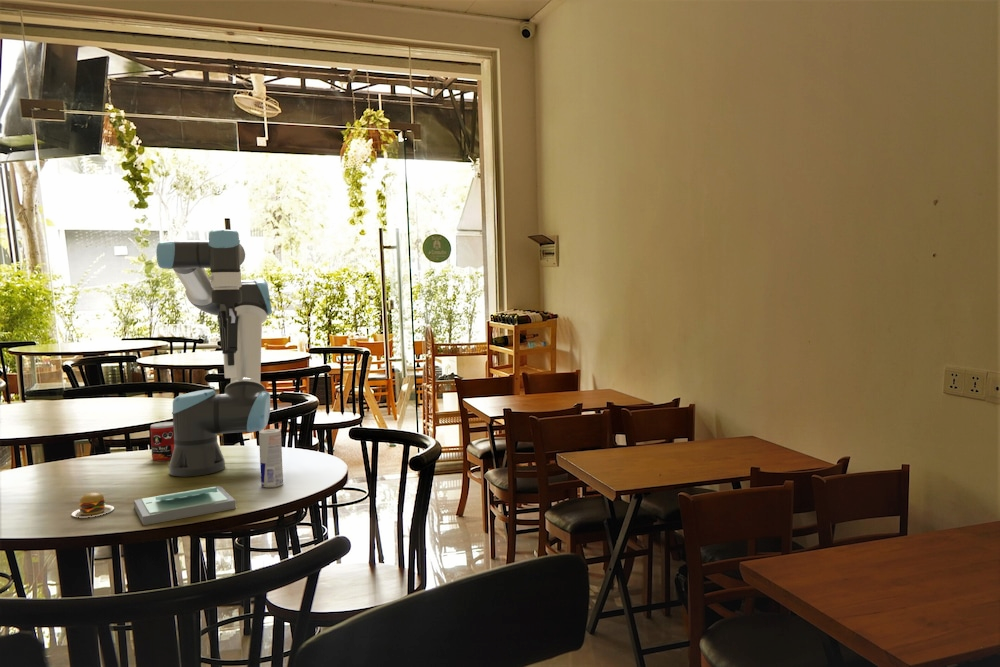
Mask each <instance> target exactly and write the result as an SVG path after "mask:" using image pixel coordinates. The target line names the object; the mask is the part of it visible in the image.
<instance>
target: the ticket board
mask: <svg viewBox="0 0 1000 667" xmlns="http://www.w3.org/2000/svg"><path fill="white" fill-rule="evenodd" d="M207 488H217V491H215V492H209V493H203V494H197V495H191V496H185V497H179V498H174V499H168V500H162V501H160V500H156V498H155V497H158V496H159V495H157V496H156V495H155V496H151V497H143V498H138V499H134V500H133V506H134V510H135V512H136V514H137V516H138V518H139V519H140V522H141V524H142V525H143V526H147V525H152V524H158V523H164V522H169V521H174V520H180V519H187V518H191V517H195V516H196V517H197V516H203V515H208V514H214V513H218V512H223V511H228V510H234V509H236V507H237V506H236V499H235V498H234V497H233V496H232V495H230V494H229V492H227V491H226V490H225V489H224V488H223V487H222V486H221V485H216V486H211V487H205V488H199V489H193V490H187V491H180V492H174V493H173V492H172V494H177V493H183V492H189V491H195V490H201V489H207ZM170 494H171V493H167V494H166V495H170ZM164 495H165V494H163V495H162V494H161V495H160V496H164Z"/></svg>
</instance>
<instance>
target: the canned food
mask: <svg viewBox="0 0 1000 667" xmlns="http://www.w3.org/2000/svg"><path fill="white" fill-rule="evenodd" d="M150 445H151V447H150V448H151V458H152V460H153V461H157V462H165V461H171V457H172V454H173V451H174V427H173V421H164V422H157V423H153V424H151V425H150Z"/></svg>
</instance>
